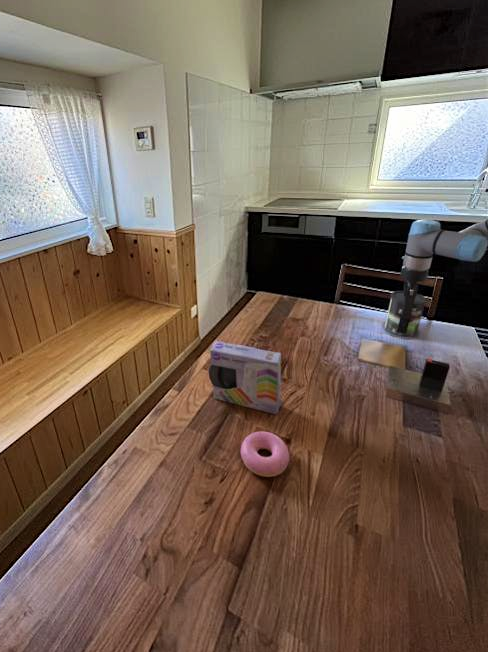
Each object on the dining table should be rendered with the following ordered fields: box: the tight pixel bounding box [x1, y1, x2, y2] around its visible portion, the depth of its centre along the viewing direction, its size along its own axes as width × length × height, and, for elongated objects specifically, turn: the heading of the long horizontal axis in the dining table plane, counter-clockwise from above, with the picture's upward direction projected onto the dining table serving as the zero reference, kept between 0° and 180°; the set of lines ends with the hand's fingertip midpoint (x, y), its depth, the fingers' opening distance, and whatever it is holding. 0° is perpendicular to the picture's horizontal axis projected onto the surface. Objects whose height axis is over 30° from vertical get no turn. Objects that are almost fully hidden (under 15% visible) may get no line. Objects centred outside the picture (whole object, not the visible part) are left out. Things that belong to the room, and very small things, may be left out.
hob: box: [385, 366, 452, 415], centre depth 93 cm, size 15×11×3 cm
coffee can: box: [384, 290, 427, 340], centre depth 119 cm, size 10×10×14 cm
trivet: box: [357, 337, 406, 369], centre depth 110 cm, size 13×13×1 cm
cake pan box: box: [208, 340, 282, 415], centre depth 91 cm, size 19×5×18 cm, turn 65°
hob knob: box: [420, 358, 451, 391], centre depth 90 cm, size 5×2×8 cm, turn 60°
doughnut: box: [240, 430, 290, 478], centre depth 77 cm, size 11×11×4 cm
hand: (401, 325), depth 120 cm, fingers closed on coffee can, 10 cm apart
